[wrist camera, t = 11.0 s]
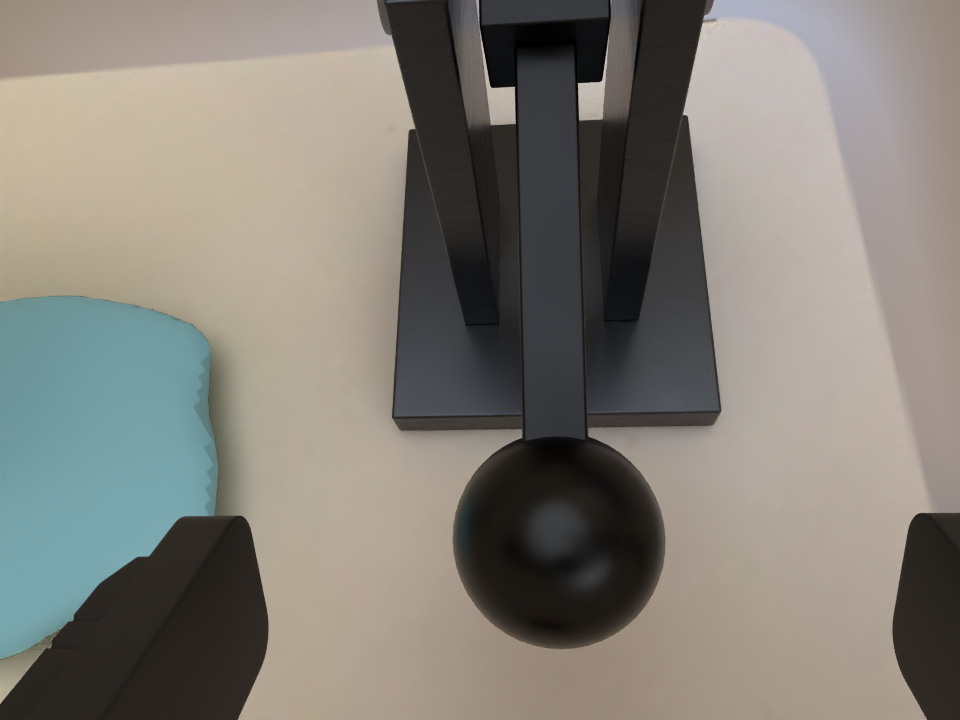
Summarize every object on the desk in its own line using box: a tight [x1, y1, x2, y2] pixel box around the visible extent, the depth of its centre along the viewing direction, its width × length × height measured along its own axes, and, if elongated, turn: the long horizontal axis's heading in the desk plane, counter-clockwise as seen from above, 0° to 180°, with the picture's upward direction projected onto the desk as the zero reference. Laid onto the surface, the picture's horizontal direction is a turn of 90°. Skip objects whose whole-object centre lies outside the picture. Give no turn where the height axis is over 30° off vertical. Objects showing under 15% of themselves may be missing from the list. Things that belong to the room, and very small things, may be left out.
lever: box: [453, 0, 665, 649], centre depth 14 cm, size 13×4×4 cm, turn 179°
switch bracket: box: [377, 0, 721, 431], centre depth 19 cm, size 10×9×13 cm
